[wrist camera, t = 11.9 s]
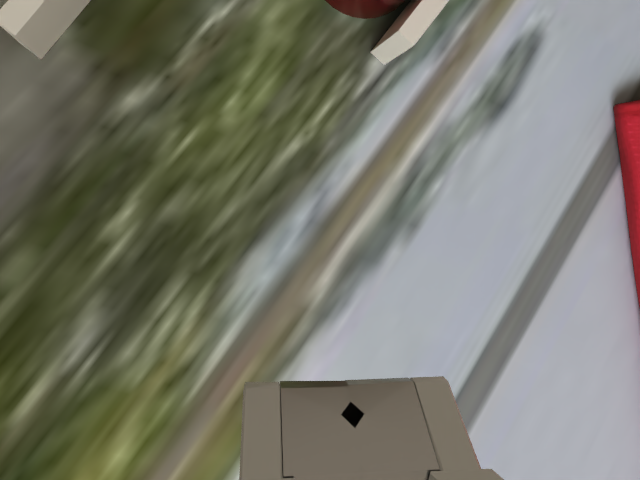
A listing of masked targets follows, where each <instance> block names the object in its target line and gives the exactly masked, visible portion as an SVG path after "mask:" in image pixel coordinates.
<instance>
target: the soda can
mask: <svg viewBox="0 0 640 480" xmlns="http://www.w3.org/2000/svg"><path fill="white" fill-rule="evenodd" d="M325 1H326V2H328V3H329V4H330V5H331V6H332V7H333V8H335V9H337V10H338V11H340V12H342V13H343V14H346V15H349V16H352V17H356V18H363V19H367V18H377V17H380V16H383V15H386V14H388V13H390V12H392V11H394V10H395V9H397V8H398V7H399V6H400V5H401V4H402V3H403V2H405V1H406V0H325Z"/></svg>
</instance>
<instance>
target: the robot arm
mask: <svg viewBox="0 0 640 480" xmlns="http://www.w3.org/2000/svg"><path fill="white" fill-rule="evenodd" d="M239 480H504V479H503V478H501V477H500V476H499V475H498V474H497V473H496V472H494V471H493V470H492V469H481V467H480V465H479V462H478V459H477V457H476V454H475V452H474V449H473V446H472V444H471V441H470V438H469V436H468V433H467V430H466V428H465V425H464V422H463V420H462V417H461V414H460V412H459V409H458V406H457V404H456V401H455V398H454V396H453V393H452V391H451V388H450V385H449V383H448V381H447V380H446V379H445V378H444V377H443V376H442V377H416V378H410V379H409V378H390V379H365V380H345V381H280V385H279V382H245V386H244V391H243V412H242V434H241V456H240V477H239Z"/></svg>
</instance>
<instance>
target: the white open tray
mask: <svg viewBox="0 0 640 480" xmlns="http://www.w3.org/2000/svg"><path fill="white" fill-rule="evenodd" d="M90 1H91V0H8V1H7V2H6V3H5V5H4V6H3V7H2V8H1V9H0V26H1V27H2V28H3V29H4V30H6V31H7V32H8V33H9V34H10V35H11V36H12V37H14V38H15V39H16V40H17V41H18V42H19V43H20V44H21V45H23V46H24V47H25V48H27V49H28V50H29V51H30V52H32V53H33V54H34V55H36V56H37V57H38V58H39V59H42V58H43V57H44V56H45V54H46V53H47V52H48V51H49V50H50V48H51V47H52V46H53V45H54V44H55V43H56V41H57V40H58V39H59V38H60V37H61V35H62V34H63V33H64V32H65V31H66V29H67V28H68V27H69V26H70V25H71V23H72V22H73V21H74V20H75V19H76V17H77V16H78V15H79V14H80V13H81V11H82V10H83V9H84V8H85V7H86V5H87V4H88V3H89V2H90Z"/></svg>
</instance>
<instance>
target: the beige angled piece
mask: <svg viewBox="0 0 640 480" xmlns="http://www.w3.org/2000/svg"><path fill="white" fill-rule="evenodd" d="M448 1H449V0H411V1H410V2H409V4H408V5H407V6H406V7H405V9H404V10H403V11H402V12H401V14H400V15H399V16H398V18H397V19H396V20H395V21H394V23H393V24H392V25H391V27H390V28H389V29H388V30H387V32H386V33H385V34H384V35H383V37H382V38H381V39H380V41H379V42H378V43H377V44H376V46H375V47H374V48H373V50H372V51H371V53H372V54H373V55H374V56H375V57H376V58H377V59H378V60H379V61H380V62H381V63H383V64H384V65H385V64H386V63H388V62H389V61H391V60H393V59H394V58H396V57H397V56H399V55H400V54H402V53H403V52H405V51H406V50H408V49H409V48H411V47H412V46H414V45H415V44H416V42H417V41H418V40H419V38H420V37H421V36H422V35H423V33H424V32H425V31H426V29H427V28H428V27H429V25H430V24H431V23H432V22H433V20H434V19H435V18H436V16H437V15H438V14H439V13H440V11H441V10H442V9H443V7H444V6H445V5H446V4H447V2H448Z"/></svg>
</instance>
